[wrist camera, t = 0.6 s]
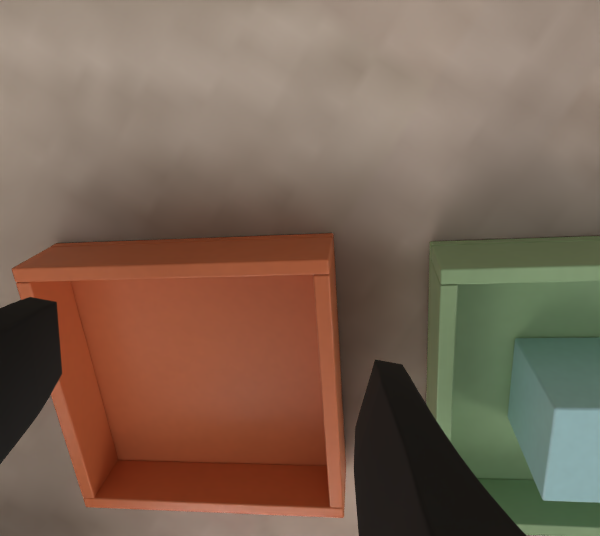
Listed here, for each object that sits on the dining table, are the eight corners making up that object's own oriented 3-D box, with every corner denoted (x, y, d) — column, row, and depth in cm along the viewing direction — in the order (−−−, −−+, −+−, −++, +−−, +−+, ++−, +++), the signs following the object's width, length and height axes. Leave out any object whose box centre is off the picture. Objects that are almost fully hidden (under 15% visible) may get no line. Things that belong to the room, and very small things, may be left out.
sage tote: (699, 486, 22) (747, 545, 20) (424, 478, 24) (432, 531, 21) (773, 229, 18) (849, 258, 15) (429, 241, 20) (440, 269, 17)
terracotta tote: (346, 467, 24) (343, 518, 22) (115, 461, 26) (85, 507, 23) (333, 232, 20) (328, 259, 17) (55, 243, 22) (10, 268, 19)
